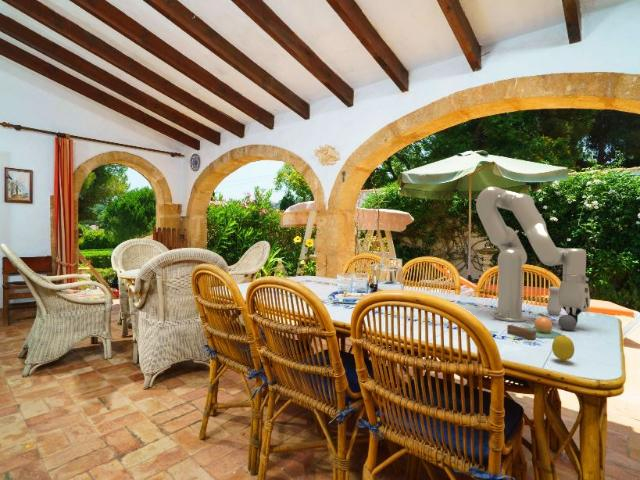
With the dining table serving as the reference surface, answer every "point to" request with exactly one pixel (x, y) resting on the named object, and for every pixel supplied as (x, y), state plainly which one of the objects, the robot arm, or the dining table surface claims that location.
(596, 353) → the dining table surface
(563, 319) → the charcoal ball
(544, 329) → the orange ball
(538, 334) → the green mark
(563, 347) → the lemon
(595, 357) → the dining table surface
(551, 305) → the salt shaker
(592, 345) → the dining table surface
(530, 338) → the stopper wall
